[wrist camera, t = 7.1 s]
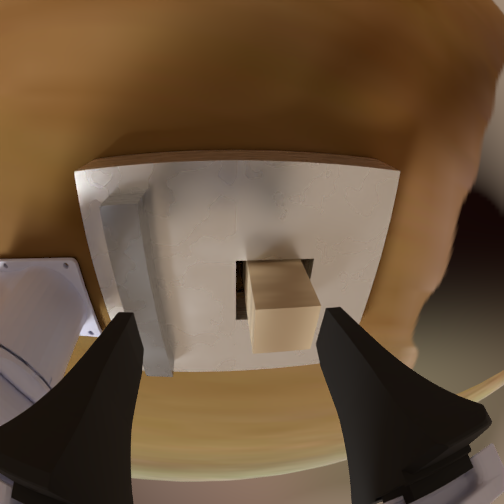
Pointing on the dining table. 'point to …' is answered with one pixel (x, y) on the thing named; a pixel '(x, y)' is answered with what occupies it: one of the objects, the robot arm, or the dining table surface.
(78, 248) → the dining table surface
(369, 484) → the robot arm
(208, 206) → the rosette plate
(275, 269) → the peg
